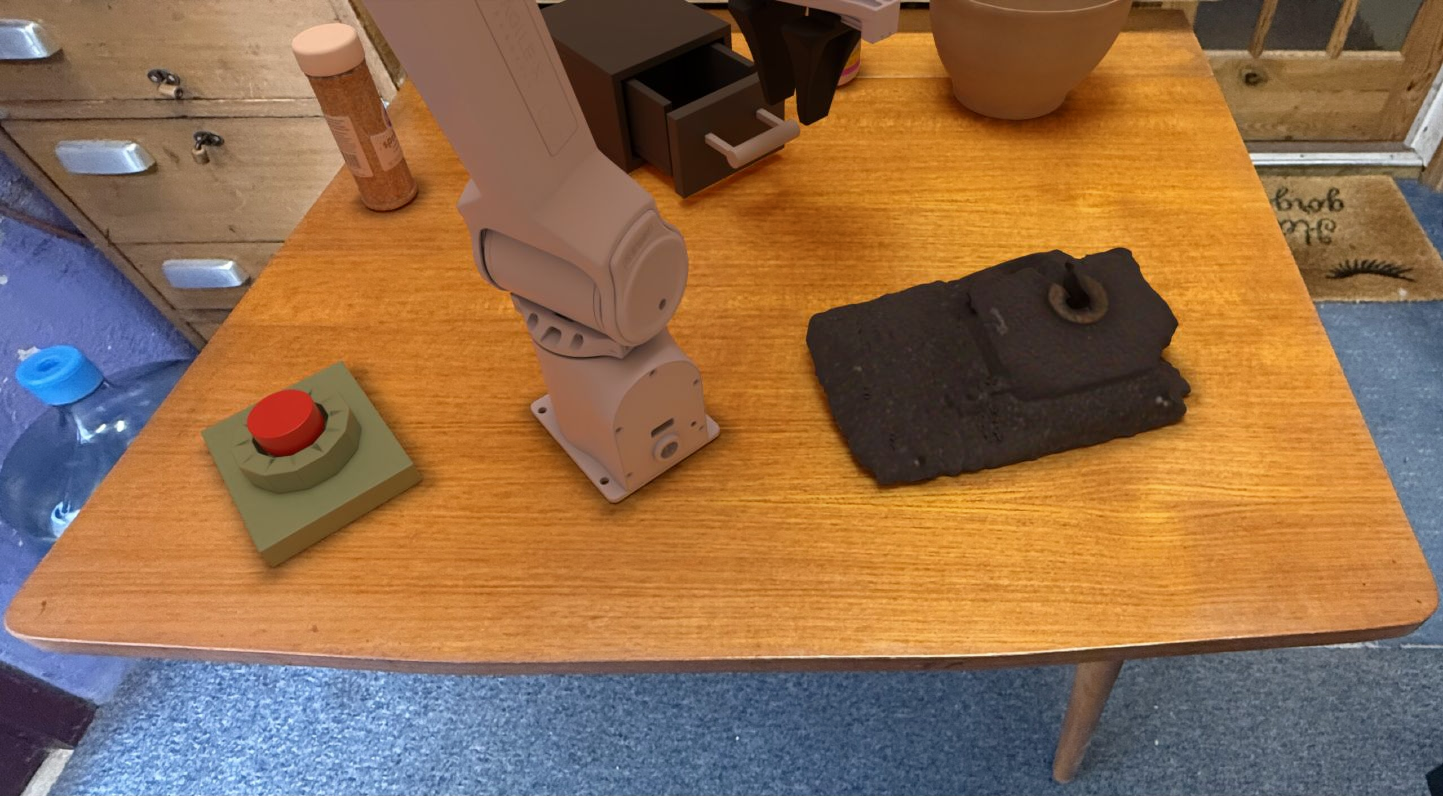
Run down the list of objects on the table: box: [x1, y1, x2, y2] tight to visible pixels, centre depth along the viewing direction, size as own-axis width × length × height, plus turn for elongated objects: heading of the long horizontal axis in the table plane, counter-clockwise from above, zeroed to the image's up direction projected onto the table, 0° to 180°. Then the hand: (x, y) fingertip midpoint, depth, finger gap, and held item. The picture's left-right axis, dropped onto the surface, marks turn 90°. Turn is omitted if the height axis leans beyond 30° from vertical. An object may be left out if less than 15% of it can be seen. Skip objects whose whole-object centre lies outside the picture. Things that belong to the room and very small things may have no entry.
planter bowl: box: [929, 0, 1134, 121], centre depth 69 cm, size 16×16×11 cm
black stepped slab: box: [805, 246, 1192, 485], centre depth 51 cm, size 15×22×5 cm
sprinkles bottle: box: [290, 22, 418, 212], centre depth 63 cm, size 5×5×14 cm
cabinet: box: [540, 0, 733, 174], centre depth 71 cm, size 14×12×9 cm
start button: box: [247, 389, 325, 457], centre depth 47 cm, size 4×4×2 cm
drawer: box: [621, 41, 801, 200], centre depth 66 cm, size 17×10×7 cm, turn 39°
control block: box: [200, 360, 423, 568], centre depth 49 cm, size 11×9×4 cm
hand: (796, 109), depth 56 cm, fingers open, 3 cm apart
